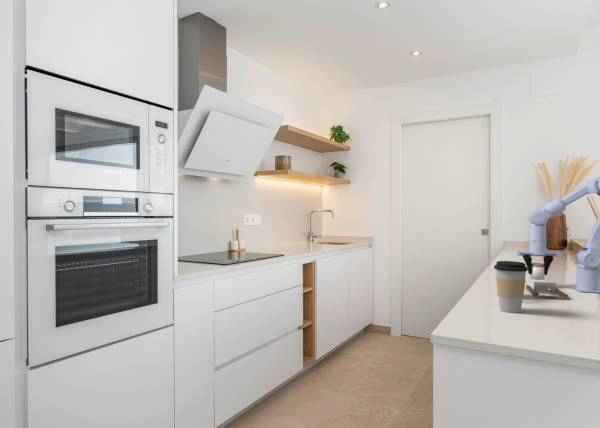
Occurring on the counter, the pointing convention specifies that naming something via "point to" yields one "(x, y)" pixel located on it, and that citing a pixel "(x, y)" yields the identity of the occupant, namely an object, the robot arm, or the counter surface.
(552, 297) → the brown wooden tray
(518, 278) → the coffee cup
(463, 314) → the counter surface
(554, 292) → the pusher plate
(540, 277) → the jar
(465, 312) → the counter surface
